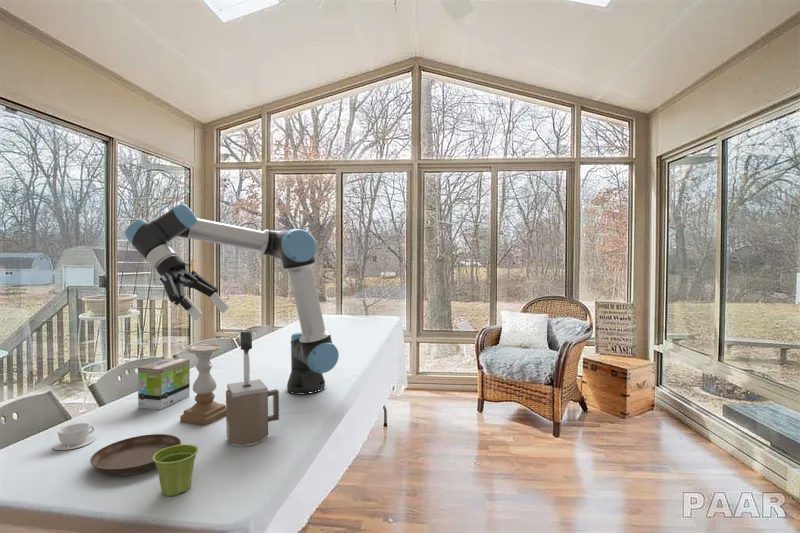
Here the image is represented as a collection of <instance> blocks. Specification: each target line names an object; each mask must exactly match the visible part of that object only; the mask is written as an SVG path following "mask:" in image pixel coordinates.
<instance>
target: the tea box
mask: <svg viewBox="0 0 800 533" xmlns="http://www.w3.org/2000/svg"><path fill="white" fill-rule="evenodd" d="M190 363H191V362H190V359H188V358H187V359H185V358H174V357H173V358H171V357H168V358H164V359H161V360H158V361H155V362H152V363H149V364H146V365H145V364H144V365H142V366H139V367H138V368H137V370H138V372H137V373H138V374H137V376H138V377H137V381H138V382H137V383H138V384H137V386H138V387H137V393H138V394H137V398H138V399H137V407H138V408H141V409H149V410H150V409H151V410H161V411H162V410H163V409H164V408H167V407H169V406H171V405H172V404H173V405H174V404H175V403H177V402H180V401H182V400H184V399H186V398H189V397H190V391H191V390H190V384H191V383H190V380H191V379H190V374H191V372H190V368H191V367H190V366H191V364H190Z"/></svg>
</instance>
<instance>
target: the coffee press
mask: <svg viewBox="0 0 800 533" xmlns="http://www.w3.org/2000/svg"><path fill="white" fill-rule="evenodd" d="M226 388H227V389H226V390H225V405H226V416H225V419H226V439H227V444H228V445H229V446H232V447H244V446H245V447H251V446H254V444H255V445H258V444H261V443H262V442H263V440H264V441H265V440H266V439H267V438H268V436H269V422H275V421H279V420H280V403H279V402H280V400H279V399H280V397H279V396H280V395H279V394H280V391H279V390H278V389H276V388H275V389H271V390H268V387H267V386H266V384H264V382H263V381H262V380H261V379H260V378H259V379H253V380H250V387H245V388H244V381H240V382H232V383H227V384H226ZM244 395H245V396H244ZM269 397H272V399H273V400H272V411H273V412H272V414H270V415H269ZM257 443H258V444H257Z"/></svg>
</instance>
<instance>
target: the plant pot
mask: <svg viewBox="0 0 800 533" xmlns="http://www.w3.org/2000/svg"><path fill="white" fill-rule="evenodd" d="M198 452H199V448H198V447H197V445H194V444H187V443H186V444H181V445H175V446H171V447H167V448H165V449H162V450H160V451H158V452H157V453H155V454H154V456H153V461H154V462H155V464H156V469H157V474H158V479H159V484H160V490H161V493H162V494H163V495H164V496H166V497H169V496H170V497H171V496H177V495H179V494H181V493H186V492H187V491H188V490H189V489H191V486H192V480H193V472H194V464H195V459H196V457H197V454H198Z"/></svg>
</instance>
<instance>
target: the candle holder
mask: <svg viewBox="0 0 800 533" xmlns="http://www.w3.org/2000/svg"><path fill="white" fill-rule="evenodd" d="M220 349H221V345H220V344H217V343H216V344H215V343H204V344H196V345H192V346H188V348H187V349H186V351H187V353H189V354H194V355H195V356H196V358H197V360H198V362H197V364H196V365H195V369H197V372H198V375H197V378H196V379H195V381H194V382H193V384H192V391H193V393H195V394H196V395H195V397H194V401H195V404H192V406H191V407H189V408H187V409H185V410H184V411H183V414H182V415H180V416H179V419H180V420H179V421H180V423H181V422H182V423H186V424H192V425H193V424H194V425H200V426H208V425H211V424H212V423H215V422H216V421H218V420H221V419H222V418H224V417H226V404H223V403H218V402H217V401H215V400H214V399H215V397H216V395H215V393H214V391H215V390H216V389H217V382H216V380H215V379H214V377H213V376H212V374H211V370H212V367H213V365H214V364H213V363H212V362H211V357H212V355H213V354H214V352H218V351H220Z"/></svg>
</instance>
